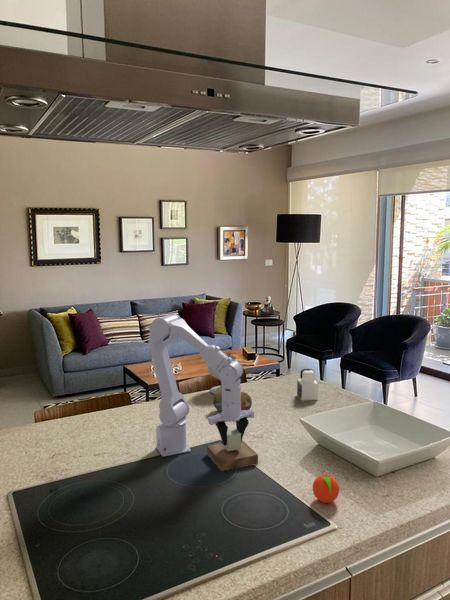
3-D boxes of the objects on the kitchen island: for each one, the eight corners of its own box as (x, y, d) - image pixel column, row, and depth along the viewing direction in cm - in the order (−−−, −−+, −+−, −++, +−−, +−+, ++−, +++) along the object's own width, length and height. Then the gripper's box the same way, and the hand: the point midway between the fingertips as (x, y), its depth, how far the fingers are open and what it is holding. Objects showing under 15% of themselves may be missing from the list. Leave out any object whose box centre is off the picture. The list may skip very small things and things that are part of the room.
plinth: (221, 471, 147) (221, 462, 146) (207, 454, 158) (206, 445, 157) (257, 463, 151) (257, 454, 151) (241, 447, 162) (241, 439, 162)
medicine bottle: (296, 395, 212) (297, 367, 210) (313, 394, 213) (313, 367, 211) (301, 400, 205) (301, 372, 203) (318, 400, 206) (318, 372, 204)
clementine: (343, 509, 127) (344, 483, 126) (317, 511, 126) (317, 485, 125) (334, 493, 135) (335, 468, 134) (309, 494, 134) (309, 469, 133)
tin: (213, 411, 194) (212, 391, 193) (215, 409, 197) (215, 388, 196) (250, 415, 190) (250, 394, 189) (252, 412, 193) (252, 391, 192)
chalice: (242, 395, 212) (242, 361, 210) (210, 397, 210) (209, 363, 208) (235, 385, 226) (235, 353, 224) (205, 387, 223) (204, 354, 221)
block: (227, 451, 151) (227, 435, 151) (222, 445, 155) (222, 430, 155) (241, 448, 153) (241, 433, 152) (235, 443, 157) (235, 428, 156)
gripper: (214, 408, 145) (214, 452, 147) (258, 401, 151) (258, 443, 153) (205, 400, 152) (206, 442, 154) (248, 394, 157) (248, 434, 159)
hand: (231, 442), depth 154 cm, fingers closed on block, 4 cm apart
